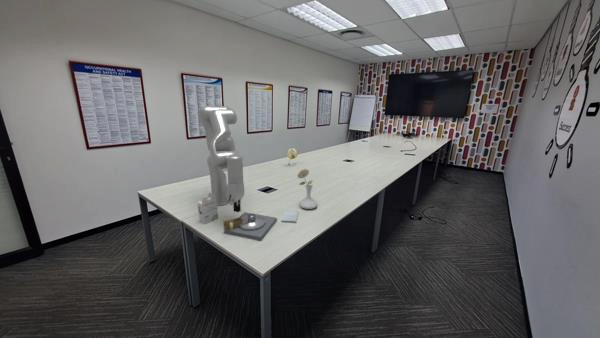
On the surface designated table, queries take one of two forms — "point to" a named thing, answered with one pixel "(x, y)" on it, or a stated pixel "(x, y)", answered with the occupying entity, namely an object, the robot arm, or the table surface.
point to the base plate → (252, 234)
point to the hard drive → (290, 216)
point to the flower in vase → (308, 201)
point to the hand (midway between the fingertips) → (237, 211)
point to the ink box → (207, 209)
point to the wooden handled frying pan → (246, 222)
